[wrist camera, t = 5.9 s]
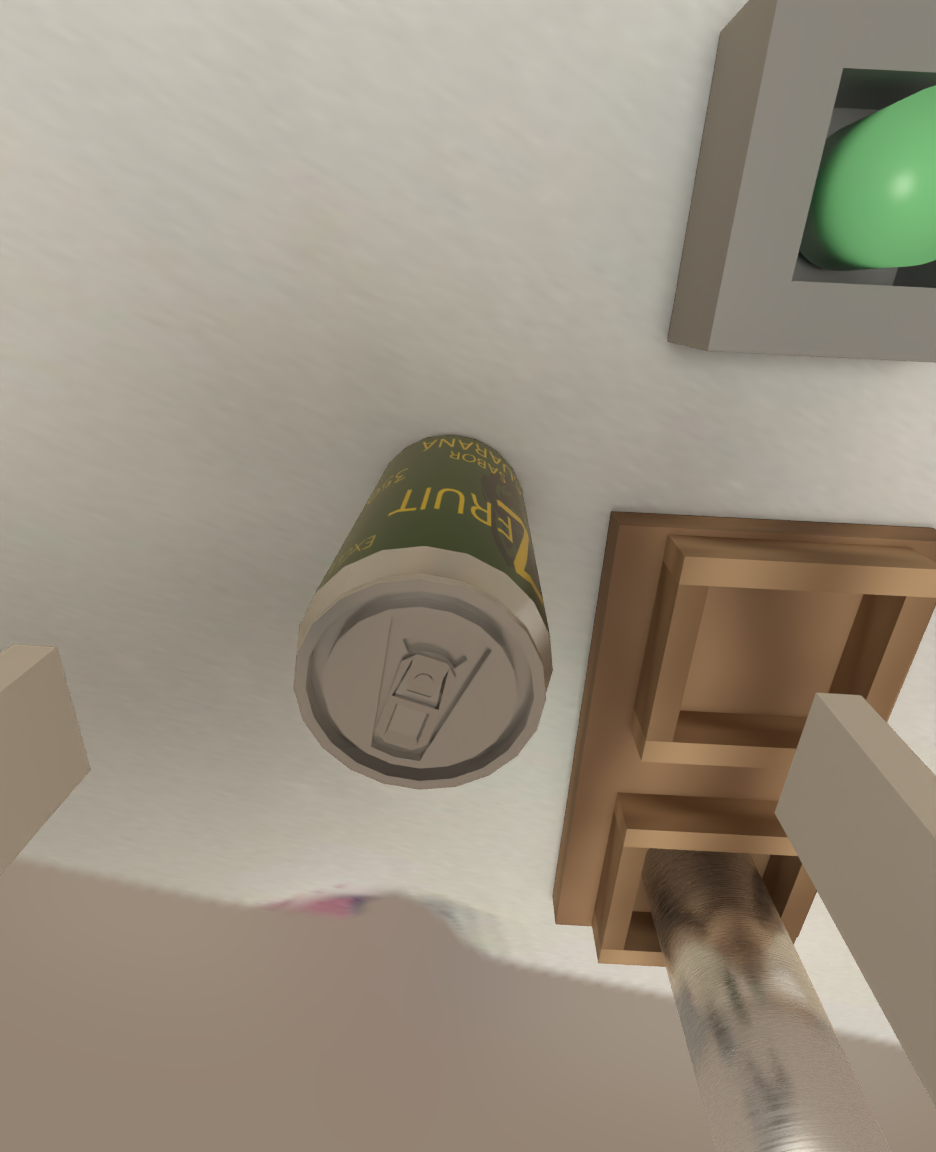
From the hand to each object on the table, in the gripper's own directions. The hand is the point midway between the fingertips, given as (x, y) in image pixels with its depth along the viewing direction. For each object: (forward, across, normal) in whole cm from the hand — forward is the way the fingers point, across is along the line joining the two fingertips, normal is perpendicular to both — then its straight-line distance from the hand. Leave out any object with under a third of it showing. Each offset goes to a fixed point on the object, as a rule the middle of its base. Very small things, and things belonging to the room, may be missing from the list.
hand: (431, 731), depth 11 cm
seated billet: (+12, +12, -16) cm, 23 cm away
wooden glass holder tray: (+13, +12, -10) cm, 20 cm away
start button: (+11, +10, +10) cm, 18 cm away
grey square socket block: (+13, +10, +10) cm, 20 cm away
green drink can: (+13, 0, 0) cm, 13 cm away
